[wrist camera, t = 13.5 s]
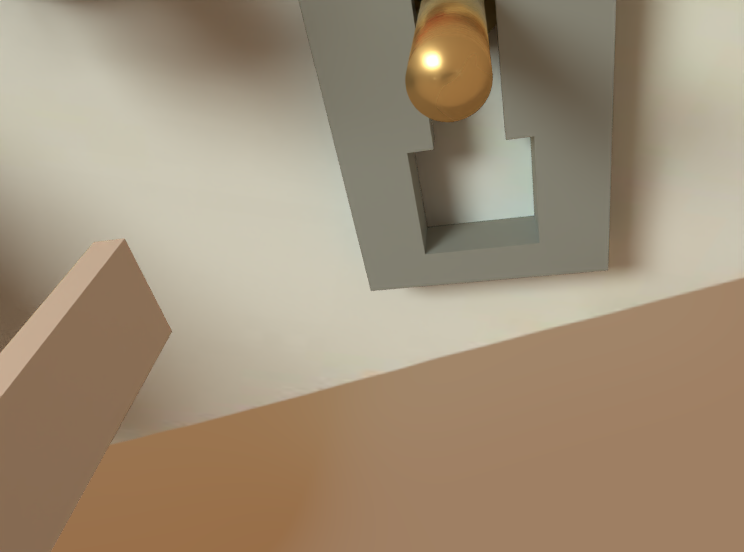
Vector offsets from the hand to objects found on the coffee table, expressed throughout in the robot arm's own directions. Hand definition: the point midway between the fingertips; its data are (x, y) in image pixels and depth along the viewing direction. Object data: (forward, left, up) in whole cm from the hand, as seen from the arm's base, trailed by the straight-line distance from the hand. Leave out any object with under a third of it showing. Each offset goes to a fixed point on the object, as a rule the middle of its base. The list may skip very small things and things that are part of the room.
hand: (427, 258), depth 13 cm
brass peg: (0, 0, -25) cm, 25 cm away
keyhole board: (0, -5, -25) cm, 25 cm away
